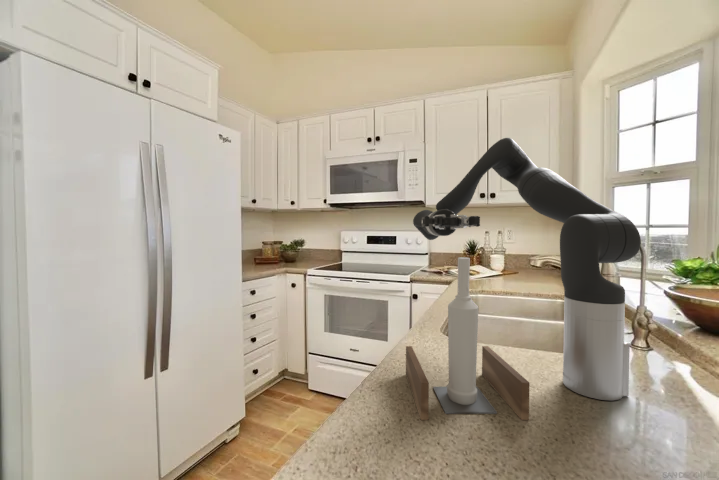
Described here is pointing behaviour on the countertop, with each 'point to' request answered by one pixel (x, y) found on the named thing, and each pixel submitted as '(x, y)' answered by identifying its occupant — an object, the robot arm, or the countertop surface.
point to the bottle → (462, 340)
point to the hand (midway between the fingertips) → (458, 220)
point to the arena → (494, 372)
